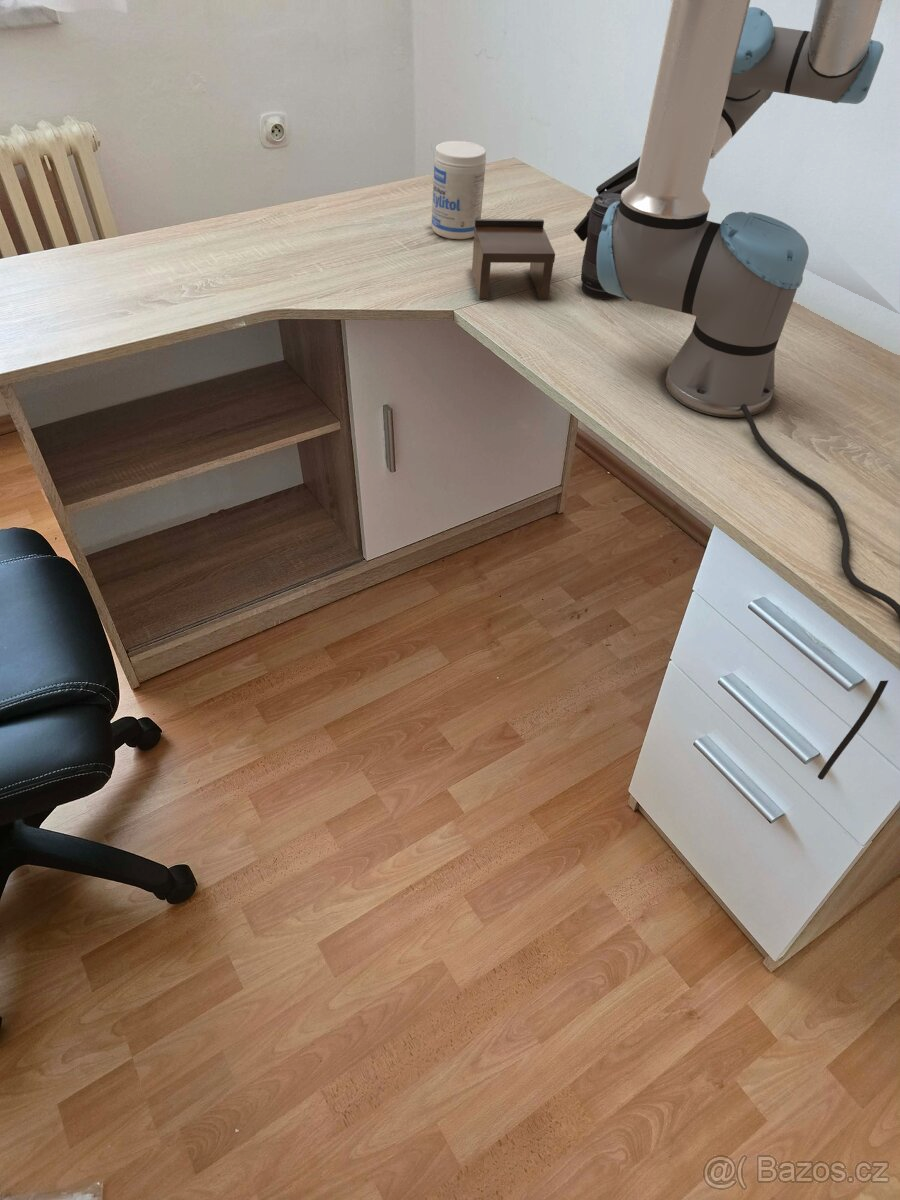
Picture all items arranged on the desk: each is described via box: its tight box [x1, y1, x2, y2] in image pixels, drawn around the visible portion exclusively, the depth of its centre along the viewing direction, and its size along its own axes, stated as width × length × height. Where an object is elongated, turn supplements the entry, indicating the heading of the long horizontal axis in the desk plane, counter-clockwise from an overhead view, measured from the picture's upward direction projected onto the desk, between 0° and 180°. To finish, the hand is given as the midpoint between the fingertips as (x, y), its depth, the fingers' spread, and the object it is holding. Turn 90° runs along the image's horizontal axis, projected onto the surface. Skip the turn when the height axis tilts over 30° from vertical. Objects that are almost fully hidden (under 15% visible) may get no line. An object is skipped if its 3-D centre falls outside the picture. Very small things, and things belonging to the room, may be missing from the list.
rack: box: [471, 218, 556, 301], centre depth 134 cm, size 12×12×9 cm
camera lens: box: [580, 193, 621, 300], centre depth 132 cm, size 8×8×15 cm
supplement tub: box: [431, 140, 487, 240], centre depth 148 cm, size 10×10×15 cm
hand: (599, 251), depth 132 cm, fingers open, 13 cm apart
